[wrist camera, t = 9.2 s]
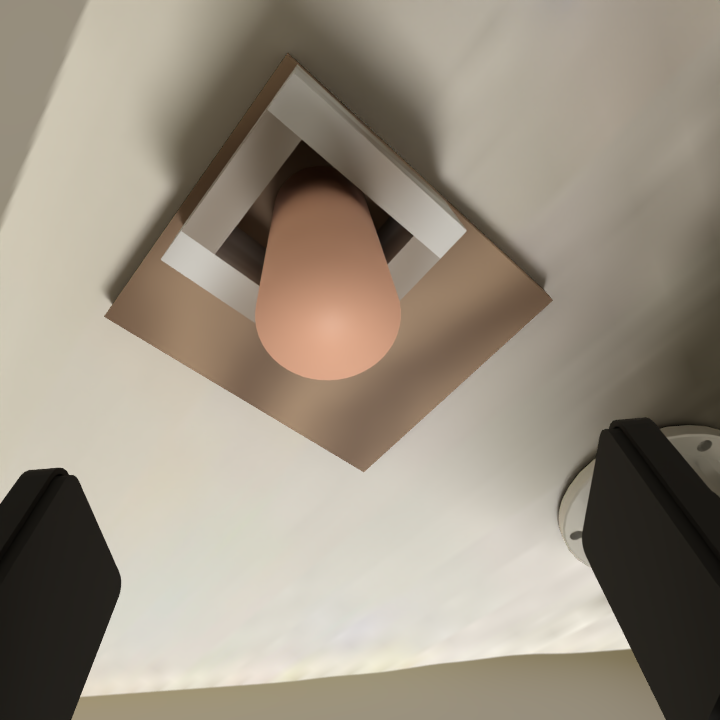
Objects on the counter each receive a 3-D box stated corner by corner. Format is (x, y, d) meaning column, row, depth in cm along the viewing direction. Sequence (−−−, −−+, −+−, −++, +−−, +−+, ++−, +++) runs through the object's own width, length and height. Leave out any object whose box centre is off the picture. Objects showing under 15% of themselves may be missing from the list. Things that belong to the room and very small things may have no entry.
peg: (386, 205, 24) (430, 306, 15) (329, 275, 25) (341, 402, 17) (311, 144, 22) (313, 218, 14) (255, 222, 24) (226, 332, 15)
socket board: (544, 289, 28) (587, 340, 23) (362, 458, 33) (369, 526, 28) (288, 52, 21) (280, 60, 17) (112, 305, 26) (71, 361, 22)
